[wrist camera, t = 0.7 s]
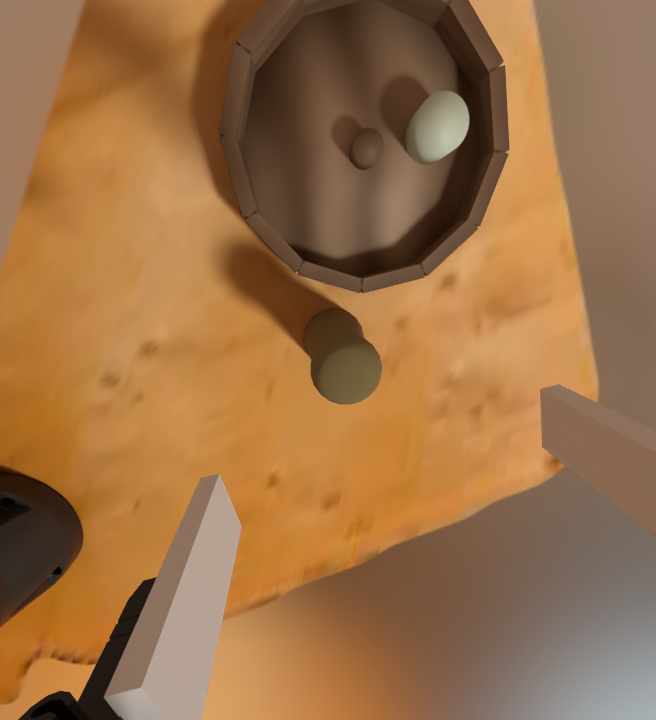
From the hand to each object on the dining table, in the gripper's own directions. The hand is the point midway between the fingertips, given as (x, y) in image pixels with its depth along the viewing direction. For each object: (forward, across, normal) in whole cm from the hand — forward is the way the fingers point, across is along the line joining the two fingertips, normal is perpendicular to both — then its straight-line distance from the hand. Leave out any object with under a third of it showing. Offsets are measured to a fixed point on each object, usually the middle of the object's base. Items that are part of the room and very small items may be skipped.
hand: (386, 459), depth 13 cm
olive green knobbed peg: (+21, 0, 0) cm, 21 cm away
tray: (+20, +6, +15) cm, 26 cm away
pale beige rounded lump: (+19, +12, +15) cm, 27 cm away
